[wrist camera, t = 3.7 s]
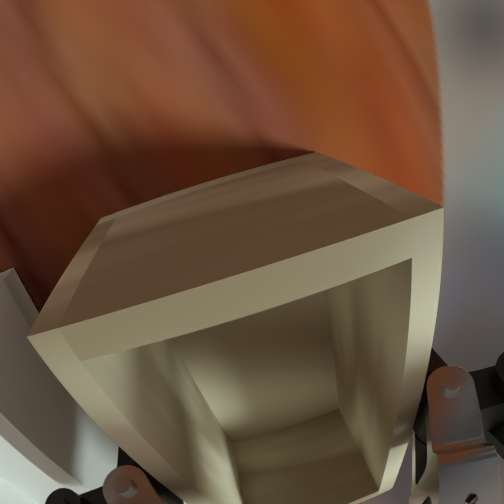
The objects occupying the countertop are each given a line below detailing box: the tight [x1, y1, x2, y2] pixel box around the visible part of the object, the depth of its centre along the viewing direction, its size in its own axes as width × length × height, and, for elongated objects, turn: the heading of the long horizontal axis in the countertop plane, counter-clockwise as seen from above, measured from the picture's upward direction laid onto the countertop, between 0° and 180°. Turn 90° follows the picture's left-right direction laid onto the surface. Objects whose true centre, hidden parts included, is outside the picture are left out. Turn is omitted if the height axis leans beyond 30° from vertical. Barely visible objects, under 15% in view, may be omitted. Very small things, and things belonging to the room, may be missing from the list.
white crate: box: [0, 267, 187, 504], centre depth 10 cm, size 18×13×4 cm
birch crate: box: [27, 152, 444, 504], centre depth 8 cm, size 11×6×5 cm, turn 14°
